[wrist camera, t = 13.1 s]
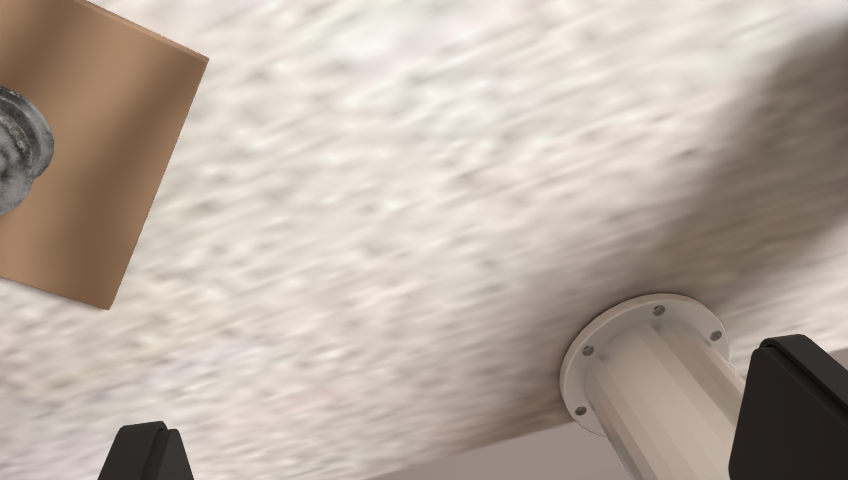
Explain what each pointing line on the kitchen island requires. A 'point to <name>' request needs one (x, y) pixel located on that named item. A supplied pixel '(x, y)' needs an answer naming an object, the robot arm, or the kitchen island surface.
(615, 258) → the kitchen island surface
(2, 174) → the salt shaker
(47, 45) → the walnut board
